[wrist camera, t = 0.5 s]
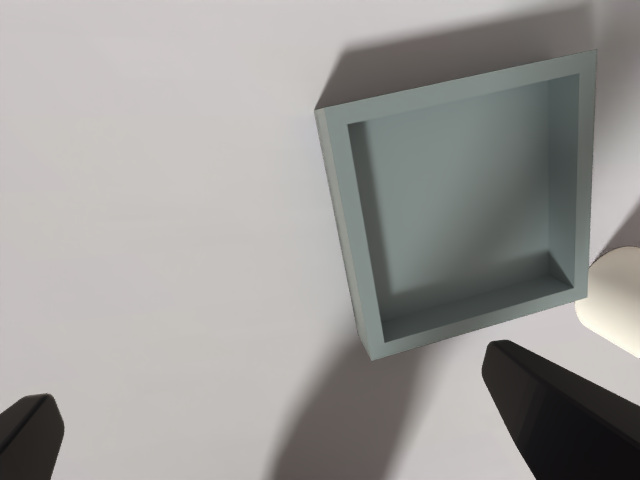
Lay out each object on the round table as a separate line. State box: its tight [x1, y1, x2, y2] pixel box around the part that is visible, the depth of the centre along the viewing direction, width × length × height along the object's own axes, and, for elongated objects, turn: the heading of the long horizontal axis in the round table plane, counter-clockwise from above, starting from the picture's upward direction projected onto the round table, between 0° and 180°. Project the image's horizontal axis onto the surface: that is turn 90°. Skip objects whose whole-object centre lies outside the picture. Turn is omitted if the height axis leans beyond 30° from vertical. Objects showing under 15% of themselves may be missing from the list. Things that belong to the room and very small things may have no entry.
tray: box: [314, 49, 597, 361], centre depth 23 cm, size 15×15×3 cm
